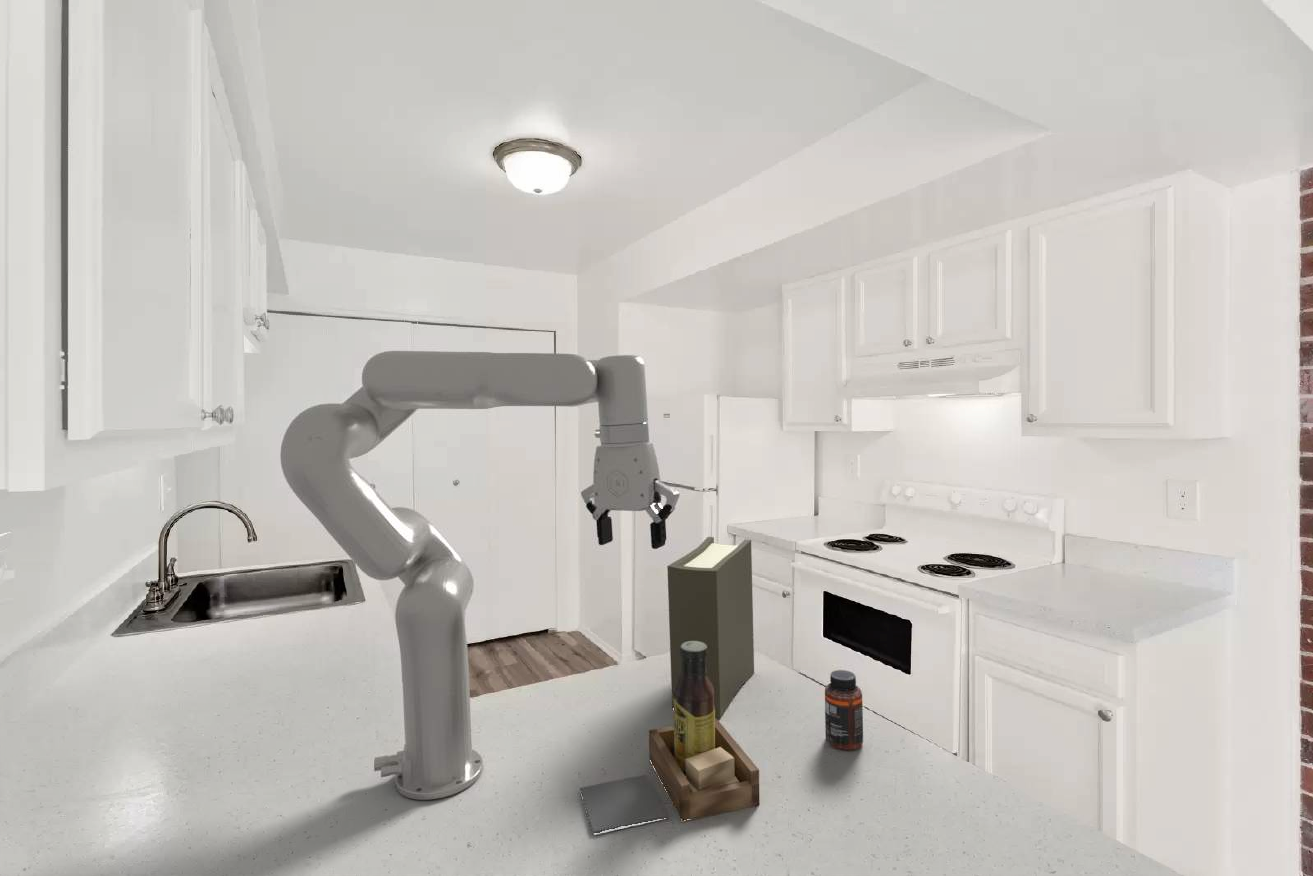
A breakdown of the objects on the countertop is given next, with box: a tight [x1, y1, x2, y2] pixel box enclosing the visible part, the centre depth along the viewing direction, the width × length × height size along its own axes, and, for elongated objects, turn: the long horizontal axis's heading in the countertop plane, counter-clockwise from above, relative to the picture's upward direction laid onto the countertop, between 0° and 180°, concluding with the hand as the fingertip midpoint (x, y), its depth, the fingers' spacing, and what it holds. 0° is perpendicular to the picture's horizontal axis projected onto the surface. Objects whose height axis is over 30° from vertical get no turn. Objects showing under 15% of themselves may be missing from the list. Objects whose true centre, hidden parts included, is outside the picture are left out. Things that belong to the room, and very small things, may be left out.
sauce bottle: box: [673, 641, 715, 776], centre depth 96 cm, size 7×6×20 cm
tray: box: [648, 718, 760, 822], centre depth 94 cm, size 11×15×5 cm
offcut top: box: [686, 747, 735, 791], centre depth 90 cm, size 6×3×3 cm, turn 119°
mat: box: [579, 774, 668, 834], centre depth 89 cm, size 10×10×1 cm
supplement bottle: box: [824, 669, 864, 751], centre depth 104 cm, size 6×6×11 cm
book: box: [667, 536, 755, 720], centre depth 123 cm, size 22×9×28 cm, turn 155°
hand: (631, 545), depth 100 cm, fingers open, 9 cm apart
